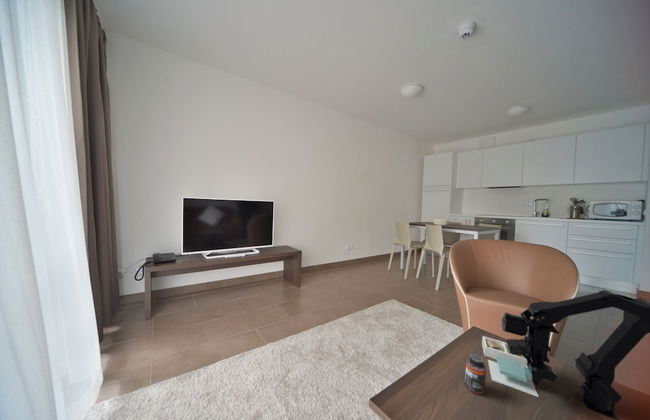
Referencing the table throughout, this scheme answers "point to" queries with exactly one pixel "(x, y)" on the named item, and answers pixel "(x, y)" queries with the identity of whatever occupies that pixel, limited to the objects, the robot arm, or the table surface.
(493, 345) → the cube
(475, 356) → the supplement bottle
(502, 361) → the lid
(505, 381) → the mat
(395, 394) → the table surface
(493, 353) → the tub
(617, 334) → the robot arm
